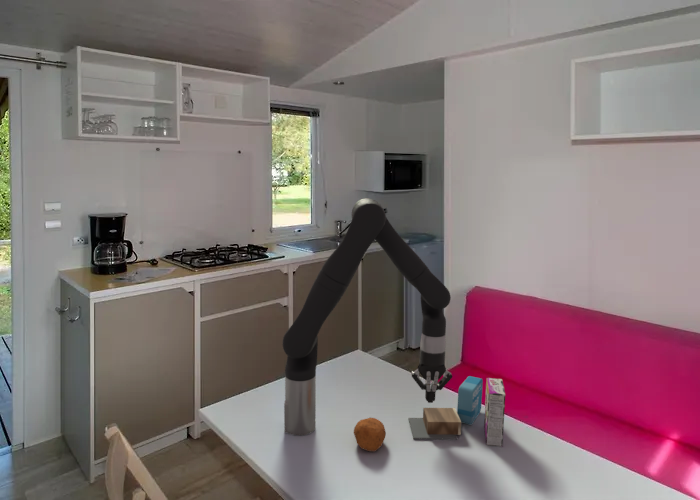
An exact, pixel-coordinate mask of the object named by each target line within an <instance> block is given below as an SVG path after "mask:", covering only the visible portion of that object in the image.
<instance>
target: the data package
mask: <svg viewBox="0 0 700 500" xmlns="http://www.w3.org/2000/svg"><path fill="white" fill-rule="evenodd" d="M483 383H484V381H483V378H482V377H481V378H480V377H475V376H471V375H469V376H467V377H466V379H464V381H463V382H462V383H461V384H460V385H459V387H458V392H457V409H456V411H457V414H458V416H459V418H460V420H461V424H465V425H469V426H471V425H473V424H474V422H475V421H476V419H477V417H479V414H480V413H481V410H482V399H483V387H484V386H483V385H484V384H483Z"/></svg>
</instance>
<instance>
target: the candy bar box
mask: <svg viewBox="0 0 700 500" xmlns="http://www.w3.org/2000/svg"><path fill="white" fill-rule="evenodd" d="M484 400H485V401H484V423H483V427H484V428H483V429H484V436H485V437H484V438H485V445H486V446H490V447H491V446H492V447H499V448H500V447H501V448H502V447H503V440H504V426H505V412H506V411H505V410H506V409H505V408H506V391H505V385H504V381H503V379H502V378H494V377H493V378H492V377H486V383H485V399H484Z"/></svg>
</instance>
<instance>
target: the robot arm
mask: <svg viewBox="0 0 700 500" xmlns="http://www.w3.org/2000/svg"><path fill="white" fill-rule="evenodd" d="M374 241H376V243H377V244H378V245H379V246H380V247H381V248H382V250H383V251H384V252H385V254H386V255H387V257H388V258H389V259H390V261H391V262H392V263H393V265H394V266H395V267H396V269H397V270H398V271H399V272H400V274H401V275H402V277H404V278H405V279H406V281H407V282H408V283H409V284H410V285H412V286H413V287H414V288H415V289H416V290H417V291H418V292H419V294H420V306H421V307H420V308H421V315H422V321H421V322H422V323H421V336H420V343H419V347H420V349H419V363H418V365H417V369H415V370H411V371H410V375H411V378H412V379H413V381H414V382H416V384H417V386H418V387H419V388H420V389H421V390H423V391H425V396H424V397H425V400H426V402H427V403H428V404H431V403H434V402H435V401H436V392H437V391H441V390H442V389H444V387H446V385H447V384H448V383H449V381H451V380H452V378H453V374H452V372H451V371H449V370H447V367H446V365H445V363H446V350H447V349H446V347H447V345H446V344H447V339H446V332H447V331H446V330H447V319H446V316H445V314H444V309H445V308H447V307H448V305H449V304H450V303H451V292H450V291H449V289H448V288H447V287H446V286H445V284H444V283H443V282H441V280H439V279H438V277H437V276H436V275H434V273H432V271H431V270H430V269H429V267H428V265H426V263H425V262H424V261H423V259H422V258H421V257H420V256H419V255H418V254H417V253H416V252H415V250H414V249H413V248H411V246H410V245H409V244H408V243H407V242H406V241H405V240H404V239H403V238H402V237H401V235H400V234H399V233H398V232H397V231H396V230H395V228H394V227H393V225H392V224H391V222H390V221H389V220H388V217H387V215H386V212H385V210H384V208H383V206H382V205H381V203H379V202H378V201H376V200H375V199H373V198H362V199H359V200H358V201H356V202H355V203H354V205H353V206H352V210H351V222H350V224H349V226H348V229H347V231H346V233H345V235H344V237H343V238H342V241H341V242H340V244H339V245H338V246H337V248H336V249H335V250H334V251H333V252H332V253H331V254H330V255H329V256H328V258H327V259H326V260H325V262H324V263H323V265H322V267H321V269H320V270H319V272H318V274H317V276H315V277H316V278H315V279H314V281H313V284H312V285H311V288H310V290H309V292H308V294H307V296H306V299H305V301H304V303H303V307H302V308H301V309H300V312H299V314H298V315H297V317H296V318H295V320H294V321H293V322H292V324H291V325H290V327H289V328H288V330H287V331H286V332H285V333H284V335H283V337H282V349H283V352H284V353H285V355H286V356H287V357H286V363H285V369H284V381H285V382H284V386H285V387H284V393H285V394H284V396H285V397H284V399H285V400H284V403H283V404H284V406H283V407H284V409H283V415H284V416H283V417H284V418H283V419H284V423H283V425H284V426H283V427H284V429H283V430H284V431H283V432H284V433H285V434H289V435H292V436H306V435H310V434H312V433H313V432H315V431H316V422H317V420H316V418H317V417H316V416H317V415H316V405H317V404H316V399H317V398H316V396H317V395H316V391H317V390H316V387H317V384H316V379H317V377H316V376H317V375H316V374H317V365H318V348H319V347H318V346H319V345H318V339H319V338H318V334H319V332H320V331H321V329H322V326H323V325H324V323H325V321H326V320H327V319H328V317H329V316H330V315H331V314H332V311H334V309H335V308H336V306H338V304H339V303H340V300H341V299H342V297H343V296H344V294H345V293H346V291H347V289H348V287H349V286H350V284H351V282H352V280H353V279H354V276H355V274H356V272H357V270H358V269H359V266H360V264H361V262H362V260H363V258H364V256H365V254H366V252H367V251H368V249H369V248H370V246H371V245H372V244H373V243H374ZM449 306H450V305H449ZM420 375H421V377H422V378H423V379H424V382H425V383H424V382H423V381H422V380H421V379H420ZM441 377H442V378H441Z"/></svg>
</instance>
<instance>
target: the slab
mask: <svg viewBox="0 0 700 500" xmlns="http://www.w3.org/2000/svg"><path fill="white" fill-rule="evenodd" d="M422 411H423V412H422V418H423V421H424V425H425V428H426V431H427V434H451V435H456V436H457V435H458V436H461V435H462V423H461V420H460V418H459V416H458V414H457V409H456V408H455V407H423V409H422Z"/></svg>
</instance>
